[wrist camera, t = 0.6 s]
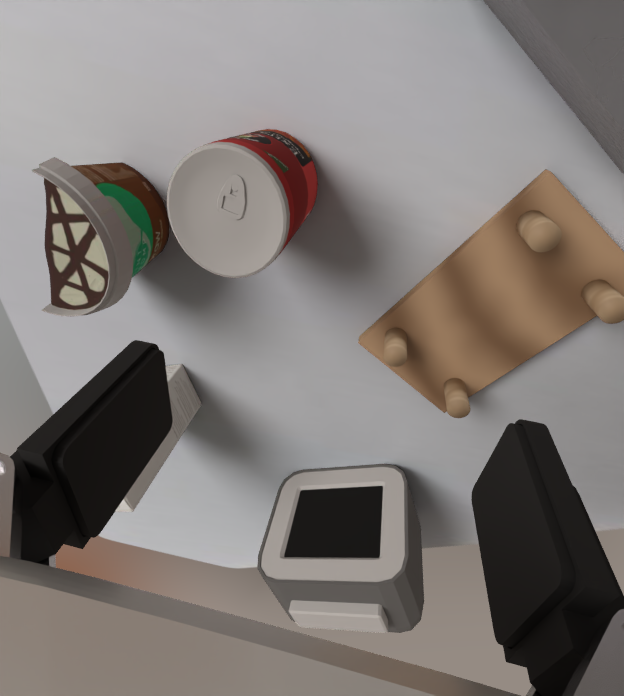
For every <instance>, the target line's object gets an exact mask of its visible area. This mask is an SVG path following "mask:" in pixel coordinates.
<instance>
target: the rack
mask: <svg viewBox="0 0 624 696" xmlns="http://www.w3.org/2000/svg"><path fill="white" fill-rule="evenodd" d="M596 316H598V317H599V318H600V319H601V320H602V321H603V322H605V323H610V324H613V323H618V322H621V321H623V320H624V252H623V251H622V250H621V249H620V248H619V246H618V245H617V244H616V243H615V242H614V241H613V240H612V239H611V238H610V236H609V235H608V234H607V233H606V232H605V231H604V230H603V229H602V228H601V227H600V225H599V224H598V223H597V222H596V221H595V220H594V219H593V218H592V217H591V216H590V214H589V213H588V212H587V211H586V210H585V209H584V208H583V207H582V206H581V204H580V203H579V202H578V201H577V200H576V199H575V198H574V197H573V196H572V195H571V193H570V192H569V191H568V190H567V189H566V188H565V187H564V186H563V185H562V184H561V182H560V181H559V180H558V179H557V178H556V177H555V176H554V175H553V174H552V173H551V172H550V171H548V170H544V171H543V172H542V173H541V174H540V175H539V176H538V177H537V178H536V179H534V180H533V181H532V182H531V183H530V184H529V185H528V186H527V187H526V188H524V189H523V190H522V191H521V192H520V193H519V194H518V195H517V196H516V197H514V198H513V199H512V200H511V201H510V202H509V203H508V204H507V205H505V206H504V207H503V208H502V209H501V210H500V211H499V212H498V213H497V214H495V215H494V216H493V217H492V218H491V219H490V220H489V221H488V222H487V223H485V224H484V225H483V226H482V227H481V228H480V229H479V230H478V231H477V232H475V233H474V234H473V235H472V236H471V237H470V238H469V239H468V240H466V241H465V242H464V243H463V244H462V245H461V246H460V247H459V248H458V249H456V250H455V251H454V252H453V253H452V254H451V255H450V256H449V257H448V258H446V259H445V260H444V261H443V262H442V263H441V264H440V265H439V266H437V267H436V268H435V269H434V270H433V271H432V272H431V273H430V274H429V275H427V276H426V277H425V278H424V279H423V280H422V281H421V282H420V283H419V284H417V285H416V286H415V287H414V288H413V289H412V290H411V291H410V292H409V293H407V294H406V295H405V296H404V297H403V298H402V299H401V300H400V301H398V302H397V303H396V304H395V305H394V306H393V307H392V308H391V309H390V310H388V311H387V312H386V313H385V314H384V315H383V316H382V317H381V318H380V319H378V320H377V321H376V322H375V323H374V324H373V325H372V326H371V327H370V328H368V329H367V330H366V331H365V332H364V333H363V334H362V335H361V336H359V342H358V343H359V344H360V345H362V346H363V347H364V348H365V349H366V350H368V351H369V352H370V353H371V354H373V355H374V356H375V357H376V358H378V359H379V360H380V361H381V362H382V363H384V364H385V365H386V366H387V367H389V368H390V369H391V370H392V371H393V372H395V373H396V374H397V375H398V376H400V377H401V378H402V379H403V380H405V381H406V382H407V383H408V384H409V385H411V386H412V387H413V388H414V389H416V390H417V391H418V392H419V393H421V394H422V395H423V396H424V397H425V398H427V399H428V400H429V401H430V402H432V403H433V404H434V405H435V406H436V407H438V408H439V409H440V410H441V411H443V412H444V413H445V412H446V411H447V412H448V414H449V415H450V416H452V417H454V418H462V417H465V416H467V415H468V414H469V412H470V405H469V401H468V397H470V396H471V395H473V394H475V393H476V392H478V391H479V390H481V389H482V388H484V387H486V386H487V385H489V384H490V383H492V382H493V381H495V380H497V379H498V378H500V377H501V376H503V375H504V374H506V373H508V372H509V371H511V370H512V369H514V368H515V367H517V366H519V365H520V364H522V363H523V362H525V361H526V360H528V359H530V358H531V357H533V356H534V355H536V354H537V353H539V352H541V351H542V350H544V349H545V348H547V347H548V346H550V345H552V344H553V343H555V342H556V341H558V340H559V339H561V338H563V337H564V336H566V335H567V334H569V333H570V332H572V331H574V330H575V329H577V328H578V327H580V326H581V325H583V324H585V323H586V322H588V321H589V320H591V319H592V318H594V317H596Z"/></svg>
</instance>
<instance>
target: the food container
mask: <svg viewBox="0 0 624 696" xmlns="http://www.w3.org/2000/svg"><path fill="white" fill-rule="evenodd" d="M39 167H40V168H37V169H34V170H32V172H34V173H36V174H38V175H40V176H42V177H44V185H45V190H46V208H47V214H46V229H45V251H46V258H47V262H48V267H49V273H50V283H51V304H49V305H48V306H46V307H45V308H44V309H42V311H44V312H47V313H50V314H54V315H59V316H70V317H71V316H80V315H88V314H91V313H95V312H97V311H100V310H103V309H105V308H108V307H110V306H112V305H114V304H115V303H117V302H118V301H119V300H120V299H121V298H122V297H123V296H124V294H125V293H126V291H127V290H128V288H129V285H130V282H131V279H132V277H133V276H134V275H135V274H137V273H138V272H139V271H140V270H141V269H142V268H143V267H144V266H146V265H147V264H148V263H149V262H150V261H151V260H152V259H153V258H155V257H156V256H157V255H158V254H159V253H160V252H161V251H162V250H163V249H164V247H165V245H166V243H167V240H168V236H169V219H168V215H167V211H166V208H165V206H164V203H163V201H162V199H161V198H160V196H159V194H158V193H157V191H156V190H155V188H154V187H153V186H152V185H151V183H150V182H149V181H148V180H147V179H146V178H145V177H144V176H143V175H141V174H140V173H139V172H138V171H136V170H135V169H133V168H132V167H130V166H128V165H126V164H124V163H107V164H93V165H78V166H70V165H68V164H67V163H65V162H63V161H61V160H59V159H57V158H55V157H54V158H52V159H50V160H47V161H45V162H43V163H41V164H39Z"/></svg>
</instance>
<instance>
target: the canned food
mask: <svg viewBox="0 0 624 696" xmlns="http://www.w3.org/2000/svg"><path fill="white" fill-rule="evenodd" d="M317 185H318V182H317V173H316V170H315V166H314V163H313V161H312V159H311V157H310V155H309V153H308V151H307V150H306V149H305V147H304V146H303V145H302V144H301V143H300V142H299V141H298V140H297V139H295V138H294V137H292V136H291V135H289V134H287V133H285V132H282V131H279V130H271V129H265V130H260V131H255V132H251V133H247V134H243V135H239V136H235V137H231V138H227V139H223V140H219V141H214V142H212V143H209V144H205V145H203V146H201V147H199V148H197V149H195V150H194V151H192V152H191V153H189V154H188V155H187V156H186V157H184V158H183V159H182V160H181V162H180V163H179V164H178V166H177V167H176V168H175V170H174V172H173V175H172V177H171V179H170V182H169V187H168V191H167V210H168V217H169V221H170V224H171V227H172V231H173V233H174V235H175V237H176V239H177V241H178V243H179V244H180V245H181V247H182V248H183V250H184V251H185V252H186V253H187V255H188V256H189V257H190V258H191V259H192V260H193V261H194V262H196V263H197V264H198V265H200V266H201V267H202V268H204V269H206V270H208V271H210V272H211V273H213V274H217V275H220V276H223V277H230V278H241V277H247V276H251V275H254V274H256V273H258V272H260V271H261V270H263V269H265V268H266V267H267V266H269V265H270V264H271V263H272V262H273V261H274V260H275V259H276V258H277V256H278V255H279V254H280V253H281V252H282V250H283V249H284V248H285V246H286V245H287V244H288V242H289V241H290V240H291V238H292V237H293V235H294V234H295V233H296V231H297V230H298V229H299V227H300V226H301V225H302V223H303V222H304V221H305V219H306V218H307V216H308V215H309V214H310V212H311V210H312V208H313V206H314V203H315V199H316V195H317Z"/></svg>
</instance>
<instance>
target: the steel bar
mask: <svg viewBox="0 0 624 696" xmlns="http://www.w3.org/2000/svg"><path fill="white" fill-rule="evenodd" d="M484 2H485V3H486V4H487V5H488V7H489V8H490V9H491V10H492V12H493V13H494V14H495V15H496V17H497V18H498V19H499V20H500V22H501V23H502V24H503V25H504V26H505V28H506V29H507V30H508V31H509V33H510V34H511V35H512V36H513V38H514V39H515V40H516V41H517V43H518V44H519V45H520V46H521V48H522V49H523V50H524V51H525V53H526V54H527V55H528V56H529V58H530V59H531V60H532V61H533V62H534V64H535V65H536V66H537V67H538V69H539V70H540V71H541V72H542V74H543V75H544V76H545V77H546V79H547V80H548V81H549V82H550V84H551V85H552V86H553V87H554V89H555V90H556V91H557V92H558V94H559V95H560V96H561V97H562V98H563V100H564V101H565V102H566V103H567V105H568V106H569V107H570V108H571V110H572V111H573V112H574V113H575V115H576V116H577V117H578V118H579V120H580V121H581V122H582V123H583V125H584V126H585V127H586V128H587V129H588V131H589V132H590V133H591V134H592V136H593V137H594V138H595V139H596V141H597V142H598V143H599V144H600V146H601V147H602V148H603V149H604V151H605V152H606V153H607V154H608V156H609V157H610V158H611V159H612V161H613V162H614V163H615V164H616V165H617V167H618V168H619V169H620V170H621V172H623V173H624V0H484Z"/></svg>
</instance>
